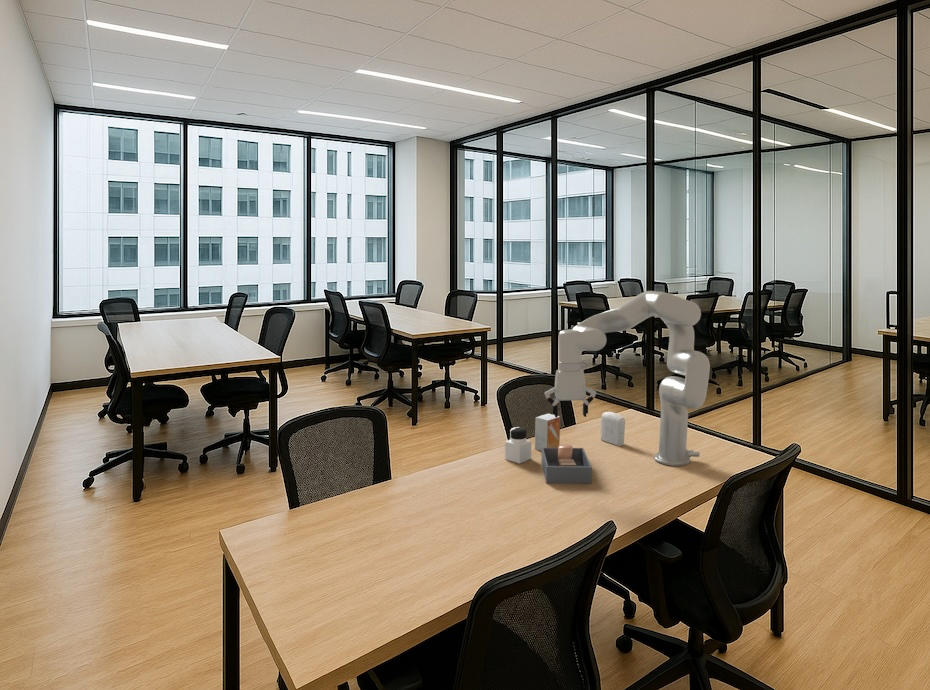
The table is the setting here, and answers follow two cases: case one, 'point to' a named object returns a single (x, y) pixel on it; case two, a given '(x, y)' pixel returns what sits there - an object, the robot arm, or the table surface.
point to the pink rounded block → (564, 452)
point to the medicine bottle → (518, 446)
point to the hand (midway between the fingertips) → (570, 415)
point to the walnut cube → (567, 462)
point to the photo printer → (612, 428)
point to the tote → (566, 467)
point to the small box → (547, 431)
